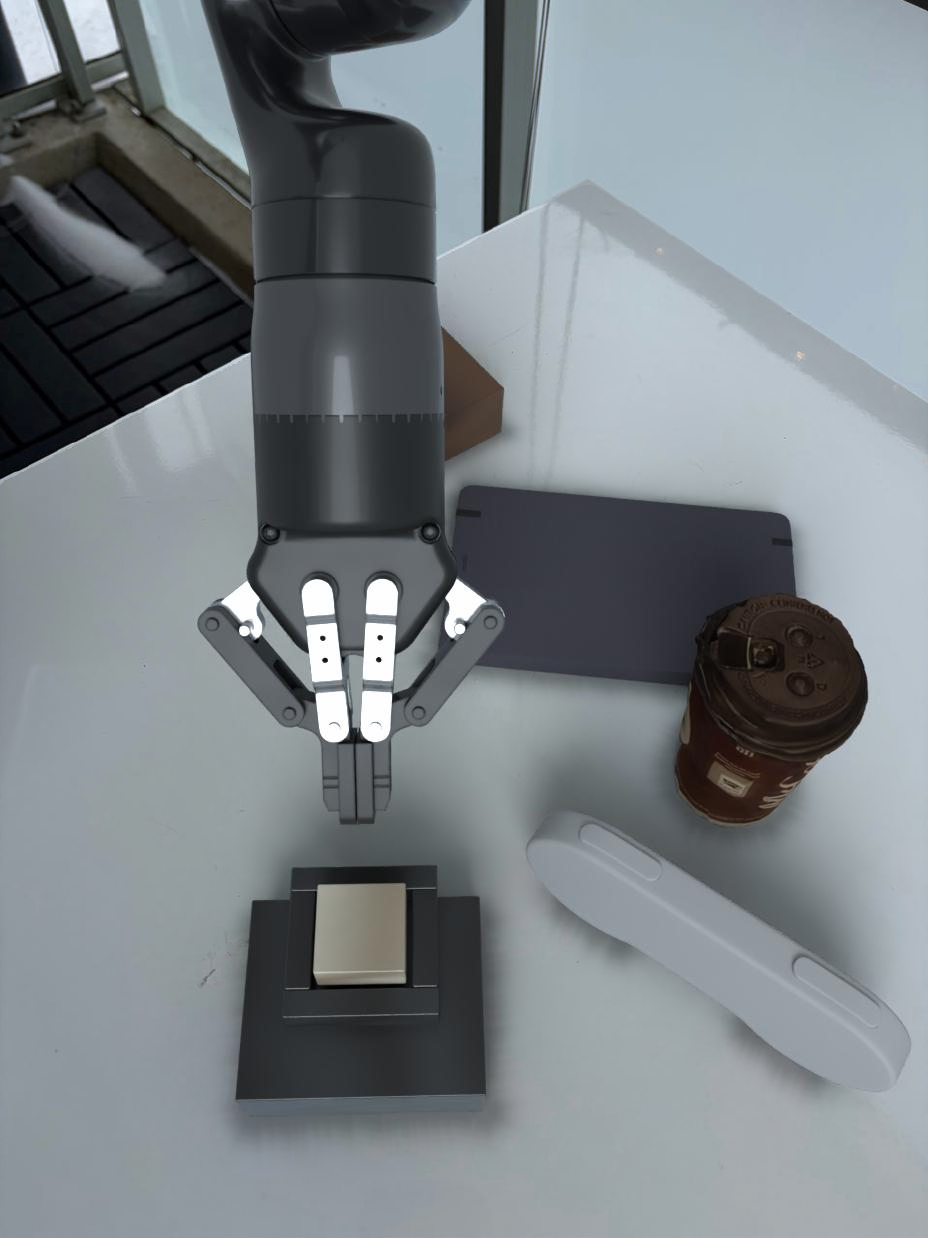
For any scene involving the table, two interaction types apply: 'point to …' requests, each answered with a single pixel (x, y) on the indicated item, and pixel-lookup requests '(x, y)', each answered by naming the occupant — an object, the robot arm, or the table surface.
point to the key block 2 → (468, 400)
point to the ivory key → (360, 934)
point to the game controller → (721, 951)
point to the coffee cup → (765, 705)
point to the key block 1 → (363, 1009)
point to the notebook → (611, 577)
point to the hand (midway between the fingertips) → (359, 817)
